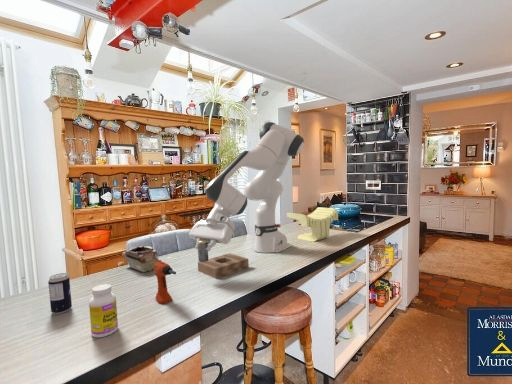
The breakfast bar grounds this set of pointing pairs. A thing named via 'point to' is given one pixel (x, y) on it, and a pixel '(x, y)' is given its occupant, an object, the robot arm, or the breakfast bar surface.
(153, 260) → the decorative box
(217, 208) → the robot arm
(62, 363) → the breakfast bar surface
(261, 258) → the breakfast bar surface
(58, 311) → the beverage can
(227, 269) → the chuck block
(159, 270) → the toy drill
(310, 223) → the slatted curved stool
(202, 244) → the key peg
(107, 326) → the supplement bottle
